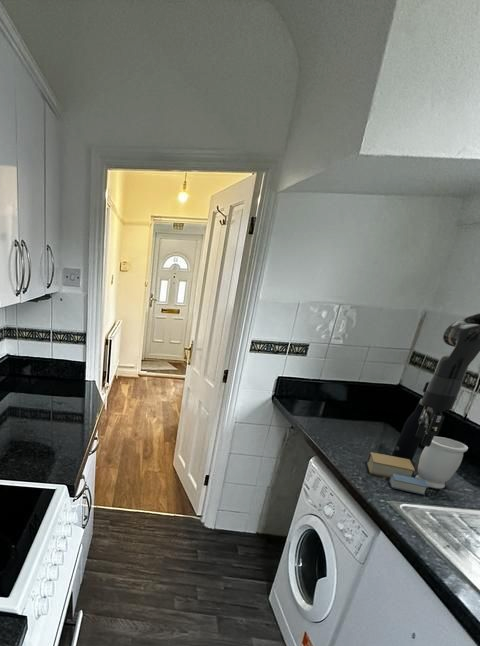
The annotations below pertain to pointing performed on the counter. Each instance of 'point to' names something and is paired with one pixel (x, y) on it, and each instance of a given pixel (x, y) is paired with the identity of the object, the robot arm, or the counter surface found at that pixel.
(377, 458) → the big book
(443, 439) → the jar
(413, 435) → the wine bottle
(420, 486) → the pocket book
